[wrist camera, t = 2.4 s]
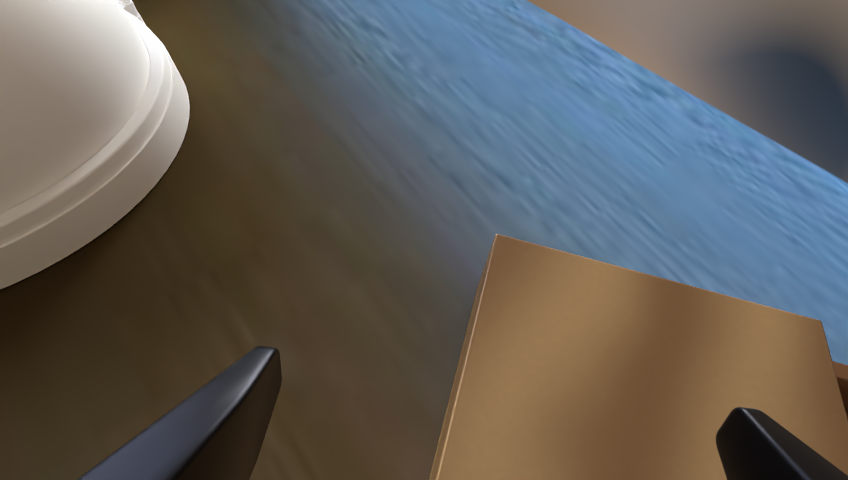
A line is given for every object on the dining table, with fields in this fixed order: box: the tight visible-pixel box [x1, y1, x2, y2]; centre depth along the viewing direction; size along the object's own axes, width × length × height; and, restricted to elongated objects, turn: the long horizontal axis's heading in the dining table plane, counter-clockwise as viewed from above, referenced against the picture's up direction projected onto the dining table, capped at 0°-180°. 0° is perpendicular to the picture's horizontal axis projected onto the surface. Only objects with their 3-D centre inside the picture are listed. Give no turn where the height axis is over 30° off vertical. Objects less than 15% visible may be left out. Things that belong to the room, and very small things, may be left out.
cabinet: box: [429, 234, 848, 480], centre depth 20 cm, size 16×14×6 cm
